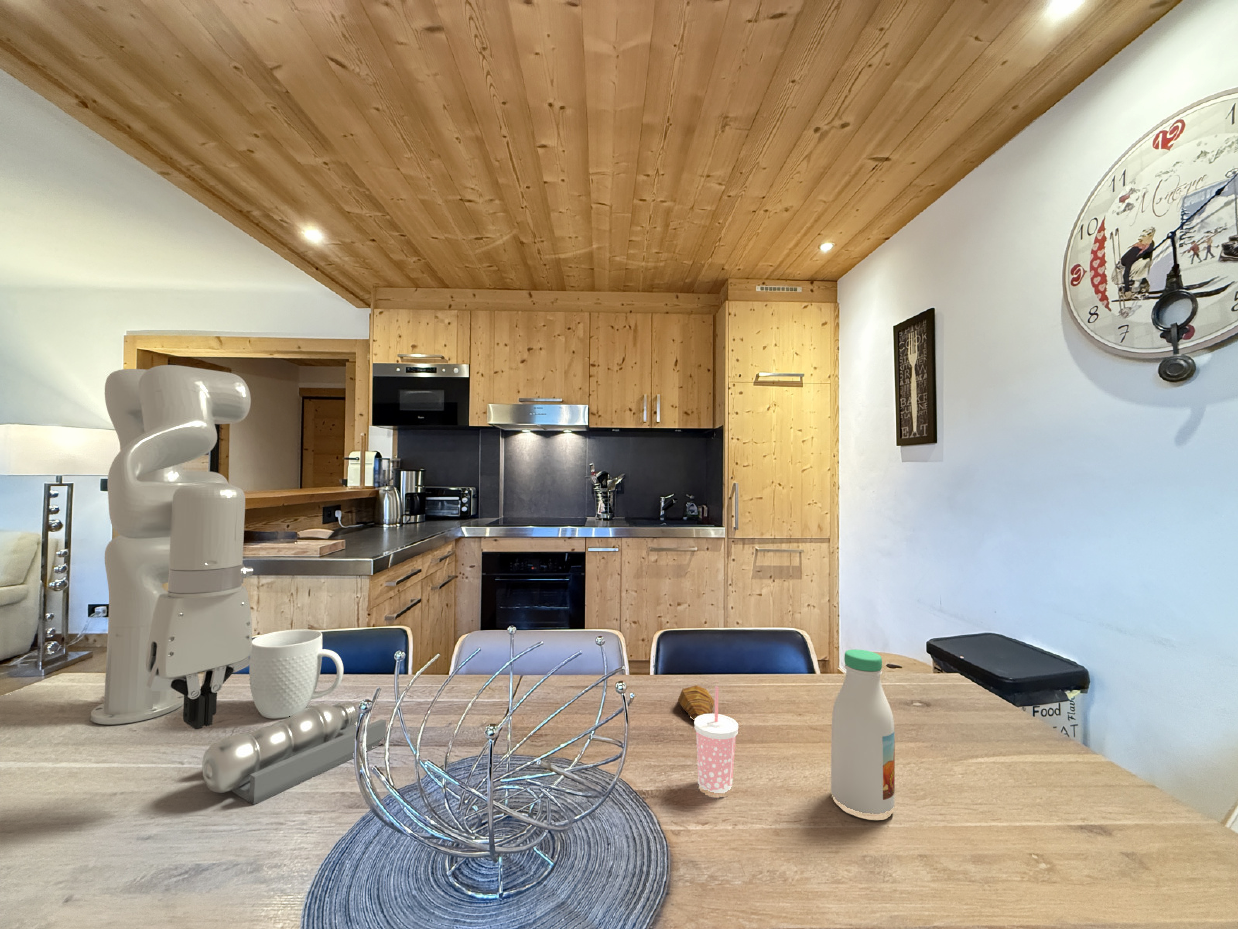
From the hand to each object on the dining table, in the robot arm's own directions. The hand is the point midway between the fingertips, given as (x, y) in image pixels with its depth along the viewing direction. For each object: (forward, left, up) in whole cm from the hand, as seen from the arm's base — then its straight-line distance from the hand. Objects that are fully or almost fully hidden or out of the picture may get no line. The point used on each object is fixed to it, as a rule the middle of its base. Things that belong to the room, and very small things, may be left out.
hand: (199, 724), depth 68 cm
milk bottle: (+73, +46, -10) cm, 87 cm away
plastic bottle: (+1, +1, -6) cm, 6 cm away
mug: (-18, +21, -10) cm, 30 cm away
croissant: (+43, +61, -11) cm, 76 cm away
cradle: (0, +13, -10) cm, 17 cm away
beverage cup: (+55, +39, -10) cm, 68 cm away
